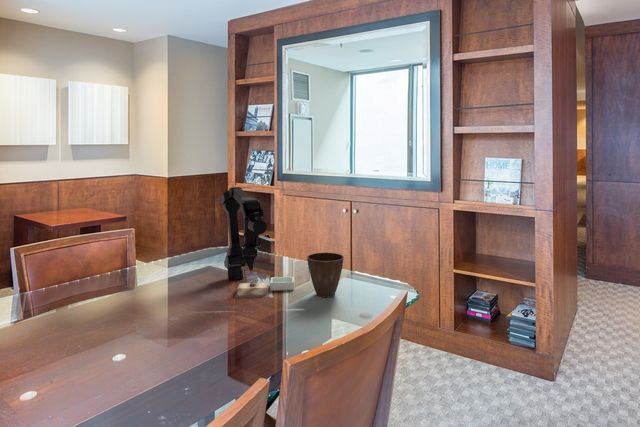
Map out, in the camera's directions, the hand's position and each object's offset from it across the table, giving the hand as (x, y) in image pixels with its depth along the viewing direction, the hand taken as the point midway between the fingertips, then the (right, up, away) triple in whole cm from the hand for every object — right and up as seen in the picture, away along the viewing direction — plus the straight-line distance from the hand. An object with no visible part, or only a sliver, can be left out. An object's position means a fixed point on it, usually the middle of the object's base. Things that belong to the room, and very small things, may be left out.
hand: (252, 267), depth 196 cm
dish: (+12, -10, +8) cm, 18 cm away
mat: (0, -11, +2) cm, 11 cm away
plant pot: (+30, -11, 0) cm, 32 cm away
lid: (0, -11, +2) cm, 11 cm away
